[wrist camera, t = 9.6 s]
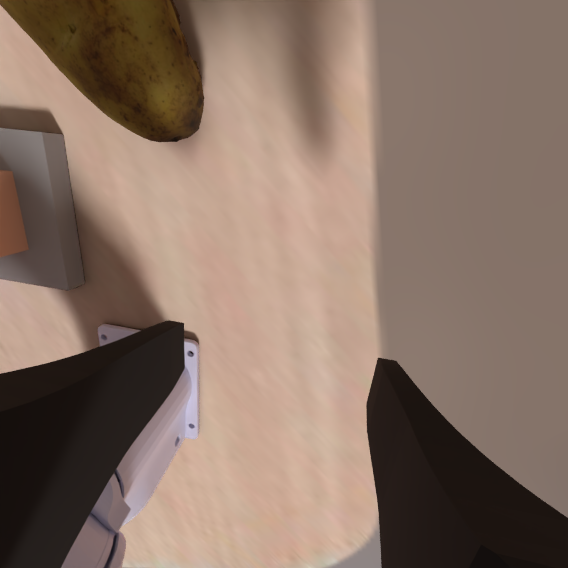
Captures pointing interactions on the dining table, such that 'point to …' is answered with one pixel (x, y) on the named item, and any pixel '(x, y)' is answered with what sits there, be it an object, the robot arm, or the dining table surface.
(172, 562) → the dining table surface
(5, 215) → the terracotta block
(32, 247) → the slate board
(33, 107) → the dining table surface
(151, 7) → the potato
